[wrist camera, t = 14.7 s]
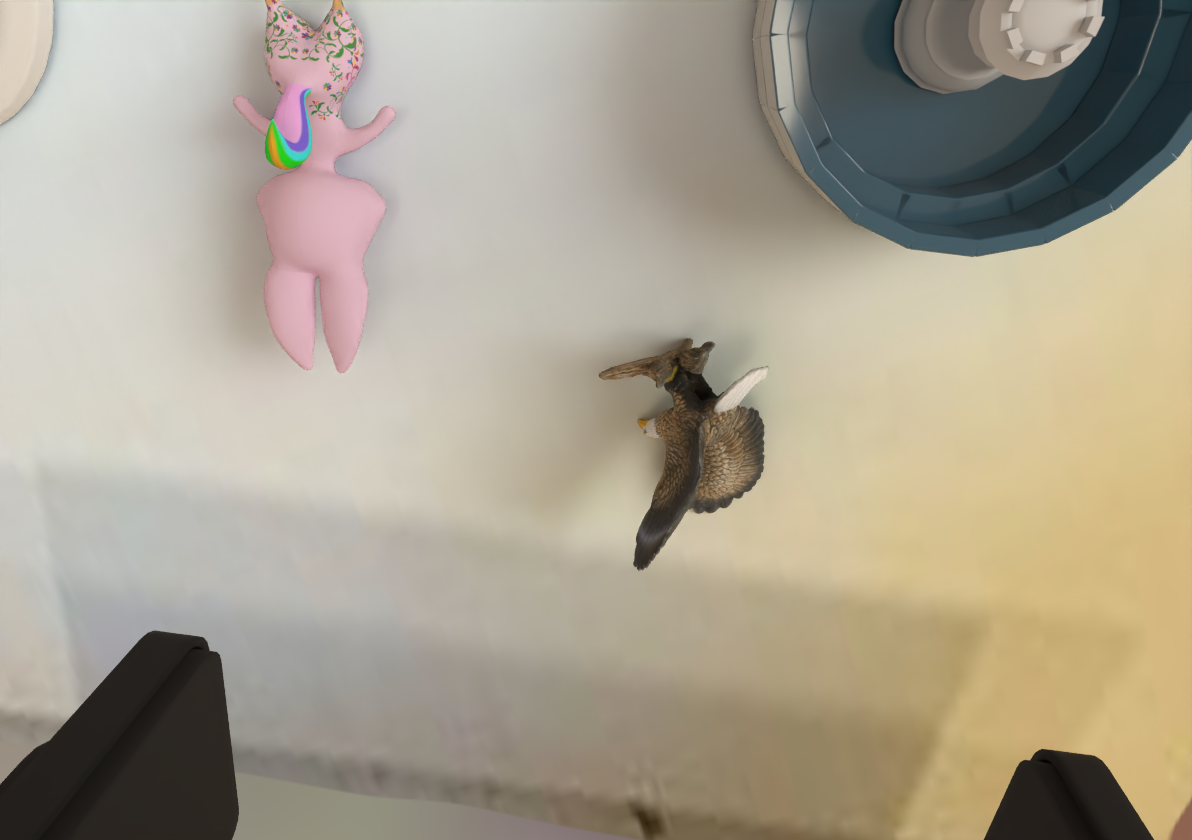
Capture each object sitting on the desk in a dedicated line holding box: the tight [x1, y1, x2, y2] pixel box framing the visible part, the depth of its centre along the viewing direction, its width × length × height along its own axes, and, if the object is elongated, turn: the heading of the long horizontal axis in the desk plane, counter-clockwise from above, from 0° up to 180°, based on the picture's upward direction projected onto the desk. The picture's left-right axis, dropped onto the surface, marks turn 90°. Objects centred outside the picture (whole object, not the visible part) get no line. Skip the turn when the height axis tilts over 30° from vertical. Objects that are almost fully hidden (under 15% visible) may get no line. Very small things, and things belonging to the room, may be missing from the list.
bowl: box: [752, 0, 1192, 257], centre depth 26 cm, size 14×14×6 cm
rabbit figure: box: [233, 0, 396, 373], centre depth 30 cm, size 6×6×15 cm
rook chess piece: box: [894, 0, 1105, 94], centre depth 25 cm, size 4×4×8 cm
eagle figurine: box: [599, 338, 769, 571], centre depth 33 cm, size 8×7×9 cm
